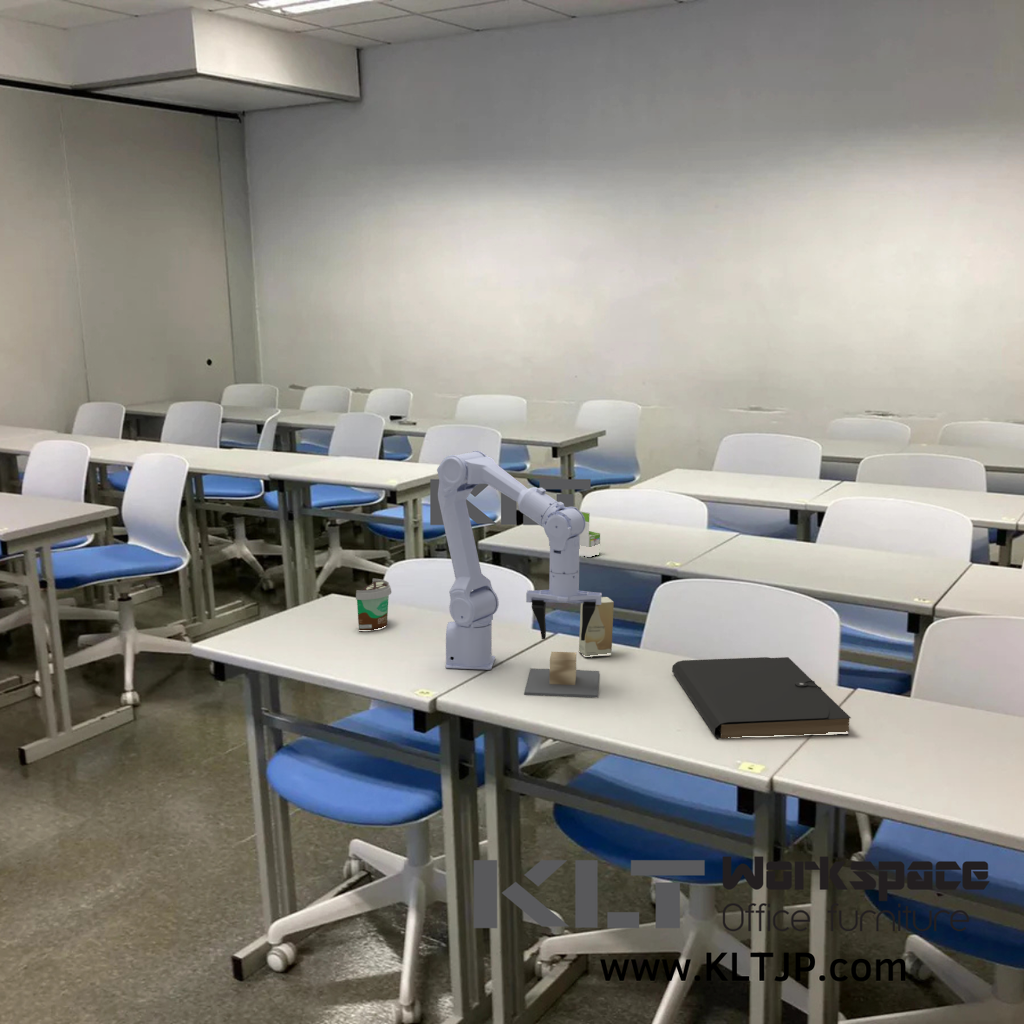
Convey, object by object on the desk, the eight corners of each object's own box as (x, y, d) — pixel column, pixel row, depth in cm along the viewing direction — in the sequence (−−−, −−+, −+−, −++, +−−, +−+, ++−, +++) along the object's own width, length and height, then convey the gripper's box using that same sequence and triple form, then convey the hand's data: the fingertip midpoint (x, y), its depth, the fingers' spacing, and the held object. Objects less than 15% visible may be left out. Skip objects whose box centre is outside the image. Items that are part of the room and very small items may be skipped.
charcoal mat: (524, 694, 199) (524, 692, 199) (530, 670, 213) (530, 668, 213) (597, 697, 198) (597, 695, 198) (599, 673, 212) (599, 670, 212)
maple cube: (549, 684, 204) (549, 659, 203) (551, 675, 209) (551, 651, 208) (575, 685, 203) (575, 660, 202) (576, 676, 208) (576, 652, 207)
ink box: (600, 556, 317) (601, 510, 314) (588, 558, 313) (589, 513, 311) (575, 550, 324) (576, 506, 322) (564, 553, 321) (564, 508, 318)
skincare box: (584, 659, 221) (585, 603, 218) (578, 652, 225) (579, 597, 222) (613, 656, 222) (614, 601, 220) (606, 650, 226) (607, 595, 224)
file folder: (852, 715, 180) (714, 721, 178) (851, 738, 181) (714, 743, 179) (789, 655, 212) (672, 659, 211) (788, 674, 213) (671, 678, 211)
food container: (382, 635, 237) (381, 592, 235) (356, 633, 238) (355, 590, 236) (398, 620, 249) (398, 579, 247) (374, 618, 250) (373, 577, 248)
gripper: (525, 574, 198) (524, 643, 201) (601, 576, 197) (600, 645, 199) (528, 565, 205) (527, 632, 208) (602, 568, 204) (600, 634, 206)
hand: (563, 638), depth 204 cm, fingers open, 7 cm apart
